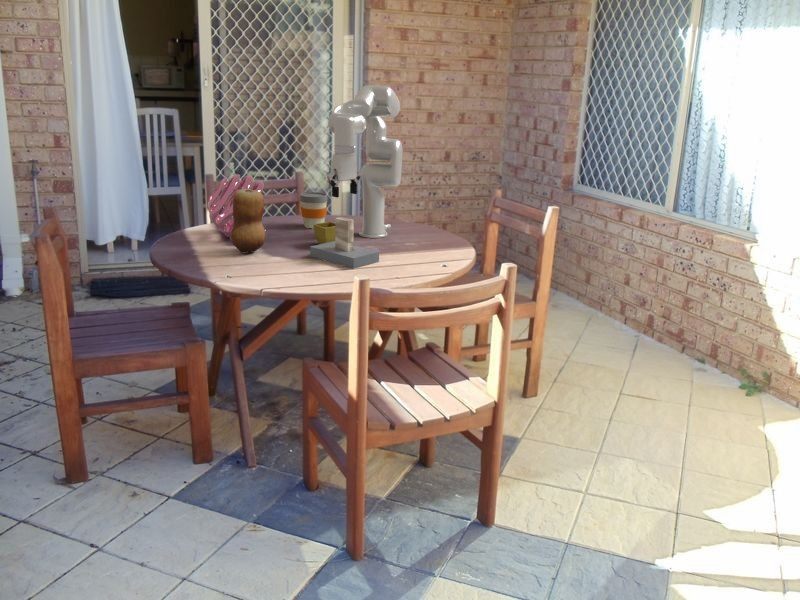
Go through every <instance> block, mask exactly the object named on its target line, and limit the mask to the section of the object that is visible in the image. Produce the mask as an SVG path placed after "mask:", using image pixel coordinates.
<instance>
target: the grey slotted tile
mask: <svg viewBox="0 0 800 600" xmlns="http://www.w3.org/2000/svg"><path fill="white" fill-rule="evenodd" d="M309 256H310V257H311V258H315V259H318V260H322V261H325V262H328V263H333V264H336V265H339V266H343V267H347V268H350V269H357V268H362V267H365V266H368V265H372V264H376V263H378V262H380V251H378V250H373V249H370V248H366V247H362V246H357V245H354V244H353V251H350V252H347V251H343V250H339V249H335V241H333V242H328V243H324V244H319V243H318V244H316V245H311V246H309Z"/></svg>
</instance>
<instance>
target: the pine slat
mask: <svg viewBox="0 0 800 600" xmlns="http://www.w3.org/2000/svg"><path fill="white" fill-rule="evenodd" d="M354 222H355V220H354V219H353V218H347V217H343V216H339V217H335V219H334V223H335V249H339V250H343V251H347V252H350V251H353V245H354V242H355V241H354V230H355V228H354V226H355V225H354Z"/></svg>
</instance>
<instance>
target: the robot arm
mask: <svg viewBox="0 0 800 600" xmlns="http://www.w3.org/2000/svg"><path fill="white" fill-rule="evenodd" d="M400 111H401V101H400V100H399V98H398V96H397V94H396V93H395V91H394V90H393V89H392V88H391V87H389V86H386V85H364V86H362V87H361V88H360V89H359V90H358V92H357V93H356V95H355V97H353V99H351V100H348V101H345V102H344V103H341V104H339V105H337V106H336V107H334V109H333V110H332V111H331V112H330V115H329V116H328V121H327V126H328V129H329V131H330V132H331V133H334V136H333V137H334V141H333V142H334V144H333V146H334V153H332V157H331V164H330V173H328V174H327V175H326V178H327V182H328V184H329V185H330V186H331V197H333V198H337V199H338V198H339V197H340V188H339V187H340V186H339V185H340V183H341V182H346V181H350V183H349V194H352V195H357V194H358V184H359V181H360V179H361V183H362V184H361V185H362V230H360V231H359V232H358V235H359V236H361V237H363V238H370V239H379V238H380V239H381V238H384V237H387V236H388V232H387V230H388V229H390V228H392V227H391V224H390V223H387V224H385V202H386V201H385V200H386V198H385V193H384V191H383V190H382V188H381V187H391V188H395V187H396V188H397V187H398V186H400V184H401V180H402V171H403V170H402V169H403V151H404V150H403V144H402V142H401V140H400V139H396V138H388V137H387V128H388V127H387V123H386V122H385V120H384V119H383V117H385V118H394V117H395V118H396V117H397V116H398V115H399V113H400ZM365 130H366V140H365V155H366V157H367V159H369V160H372V161H381V162H382V161H383V162H389V163H390V164H389V163H388V164H387V163H372V162H371V163H370V162H369V163H367V164H364V165H363V166H362V167H361V170H360V169H358V165H357V164H358V163H357V156H356V152H355V149H356V146H355V145H356V143H355V140H356V138H355V137H356V136H355V135H361V134H363V132H364V131H365Z"/></svg>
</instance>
